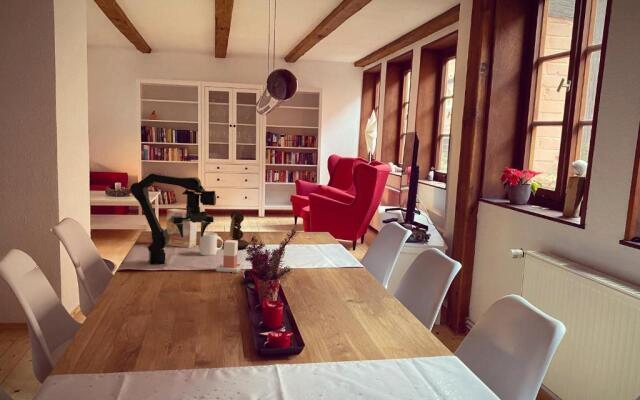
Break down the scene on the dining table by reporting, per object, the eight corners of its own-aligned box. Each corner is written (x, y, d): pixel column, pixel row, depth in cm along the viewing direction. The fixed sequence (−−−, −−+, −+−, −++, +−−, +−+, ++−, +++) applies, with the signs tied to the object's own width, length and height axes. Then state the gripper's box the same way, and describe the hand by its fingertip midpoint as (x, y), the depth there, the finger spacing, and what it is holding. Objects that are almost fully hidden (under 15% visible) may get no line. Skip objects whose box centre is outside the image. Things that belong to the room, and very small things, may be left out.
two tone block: (223, 268, 223) (224, 241, 221) (226, 266, 228) (227, 239, 226) (233, 269, 222) (234, 242, 221) (236, 266, 227) (237, 240, 226)
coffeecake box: (165, 244, 267) (166, 209, 265) (172, 242, 274) (173, 208, 272) (189, 248, 263) (190, 212, 261) (196, 245, 270) (197, 210, 268)
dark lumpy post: (219, 245, 275) (221, 210, 273) (245, 244, 281) (246, 210, 279) (226, 250, 262) (227, 214, 260) (252, 249, 268) (254, 214, 266)
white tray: (216, 271, 220) (216, 267, 220) (222, 265, 230) (223, 262, 230) (237, 273, 219) (237, 269, 219) (243, 267, 229) (243, 264, 229)
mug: (224, 255, 252) (225, 234, 250) (201, 256, 247) (201, 235, 245) (220, 251, 259) (221, 231, 258) (197, 252, 254) (198, 232, 253)
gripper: (177, 207, 214) (176, 241, 216) (218, 206, 224) (216, 239, 226) (170, 203, 224) (170, 237, 226) (210, 203, 234) (209, 235, 235)
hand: (191, 237), depth 228 cm, fingers open, 9 cm apart
